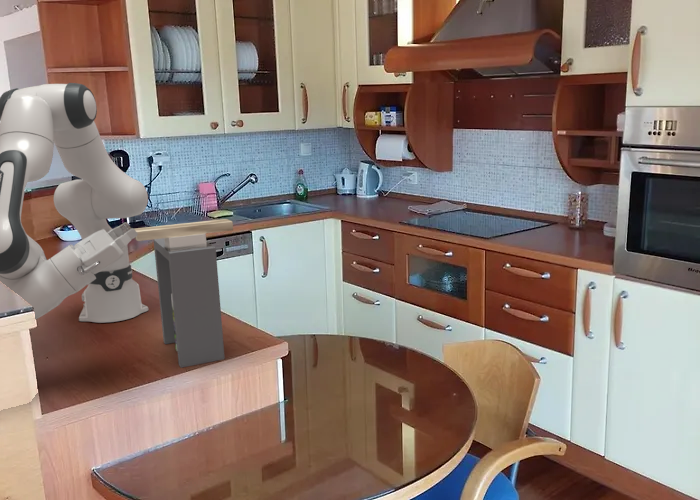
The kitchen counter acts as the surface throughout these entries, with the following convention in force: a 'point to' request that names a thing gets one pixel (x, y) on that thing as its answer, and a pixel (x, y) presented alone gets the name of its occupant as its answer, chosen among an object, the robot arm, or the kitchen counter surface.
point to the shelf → (190, 302)
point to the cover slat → (183, 229)
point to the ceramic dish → (185, 242)
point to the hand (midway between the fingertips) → (132, 227)
